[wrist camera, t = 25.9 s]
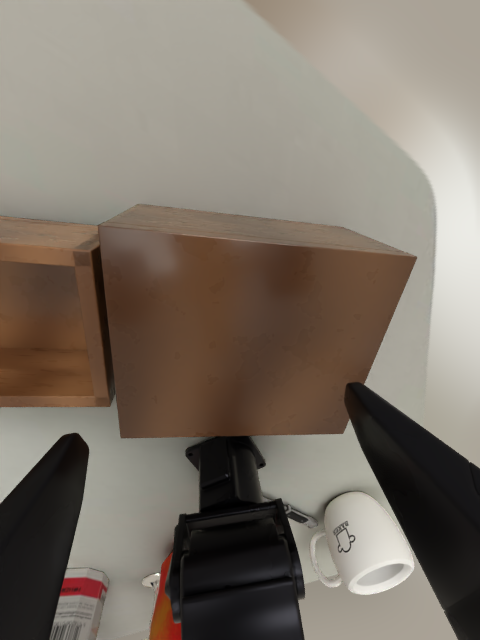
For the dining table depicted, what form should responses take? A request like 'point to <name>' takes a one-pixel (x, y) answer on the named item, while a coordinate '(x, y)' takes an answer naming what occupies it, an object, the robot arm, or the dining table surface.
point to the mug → (363, 545)
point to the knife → (297, 515)
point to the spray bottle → (80, 605)
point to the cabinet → (241, 320)
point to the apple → (164, 612)
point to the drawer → (53, 316)
